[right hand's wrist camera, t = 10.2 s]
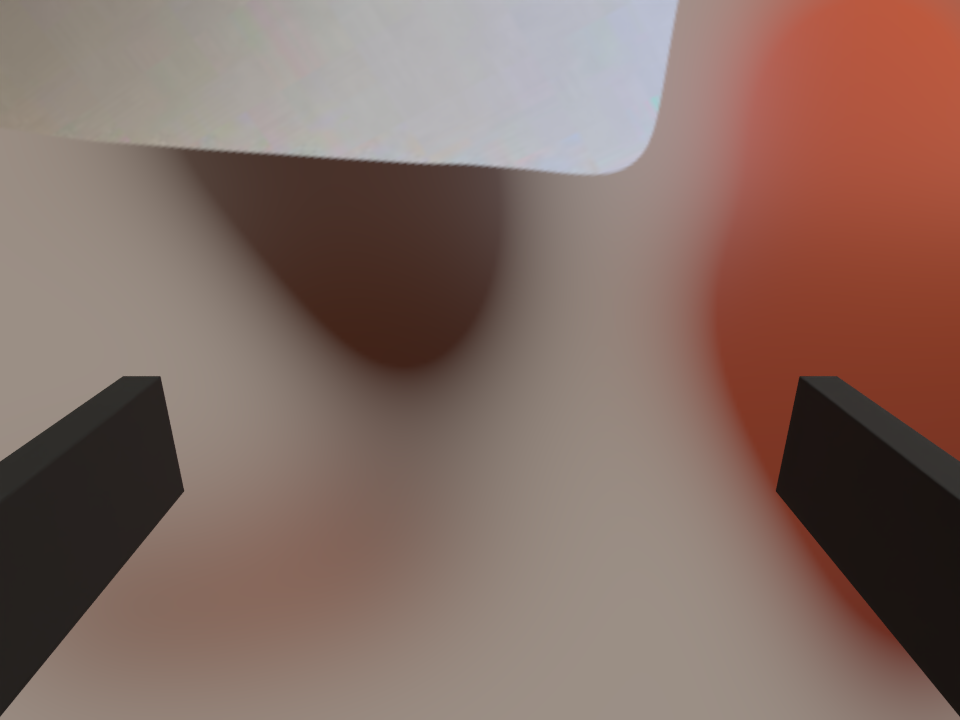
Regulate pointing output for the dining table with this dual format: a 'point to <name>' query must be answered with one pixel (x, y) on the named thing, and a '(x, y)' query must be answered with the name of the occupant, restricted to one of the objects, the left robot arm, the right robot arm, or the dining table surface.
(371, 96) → the dining table surface
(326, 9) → the dining table surface
